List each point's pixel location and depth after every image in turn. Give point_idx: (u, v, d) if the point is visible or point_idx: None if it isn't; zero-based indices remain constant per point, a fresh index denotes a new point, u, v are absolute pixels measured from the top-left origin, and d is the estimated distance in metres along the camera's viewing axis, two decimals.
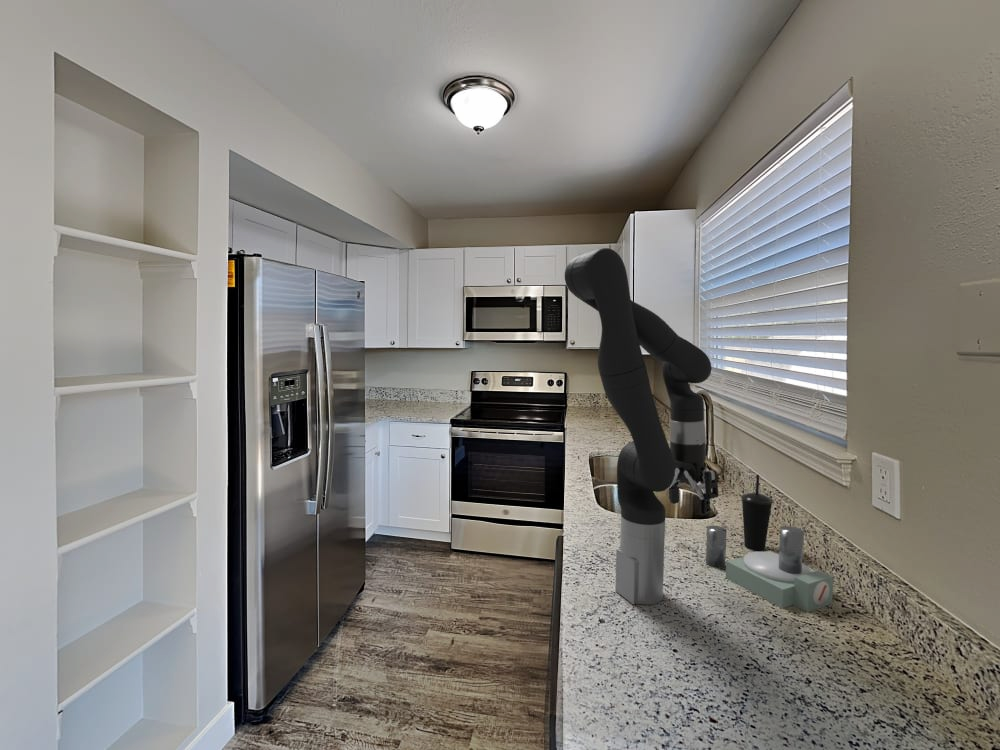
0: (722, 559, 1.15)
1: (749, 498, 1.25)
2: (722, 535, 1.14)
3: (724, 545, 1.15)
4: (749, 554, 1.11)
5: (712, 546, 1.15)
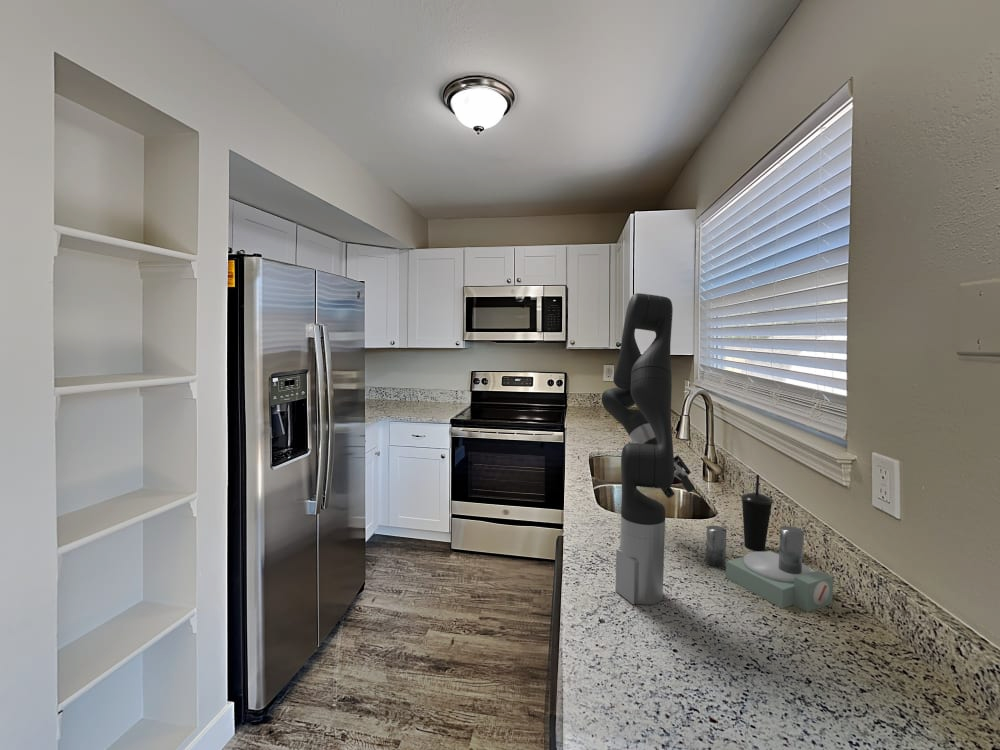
0: (722, 559, 1.15)
1: (749, 498, 1.25)
2: (722, 535, 1.14)
3: (724, 545, 1.15)
4: (749, 554, 1.11)
5: (712, 546, 1.15)
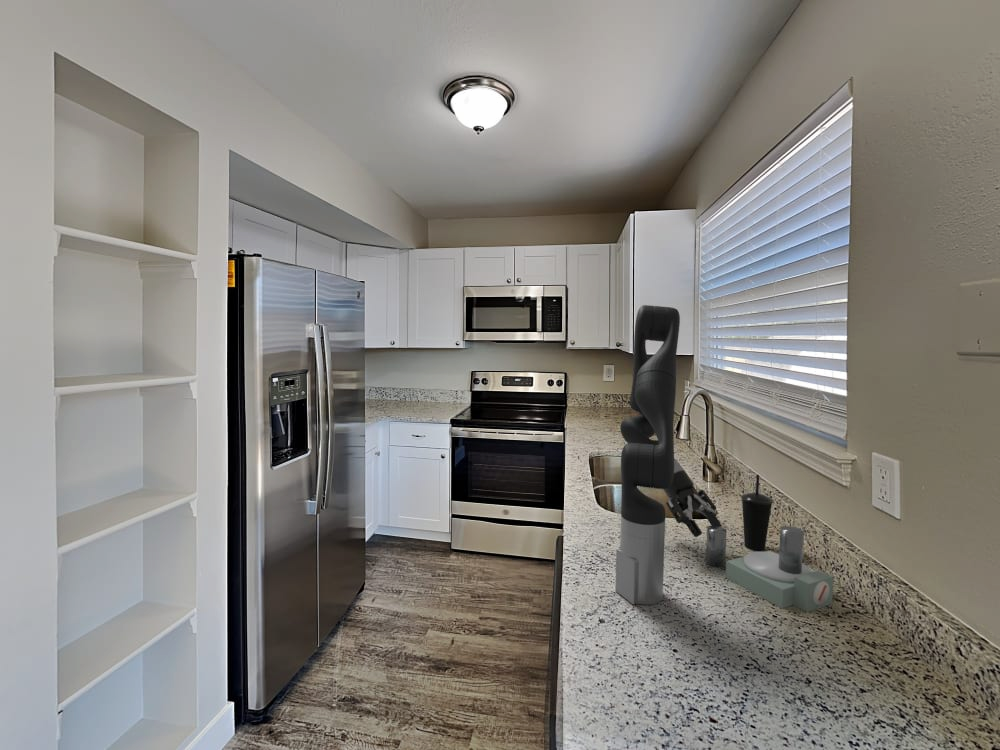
0: (722, 559, 1.15)
1: (749, 498, 1.25)
2: (722, 535, 1.14)
3: (724, 545, 1.15)
4: (749, 554, 1.11)
5: (712, 546, 1.15)
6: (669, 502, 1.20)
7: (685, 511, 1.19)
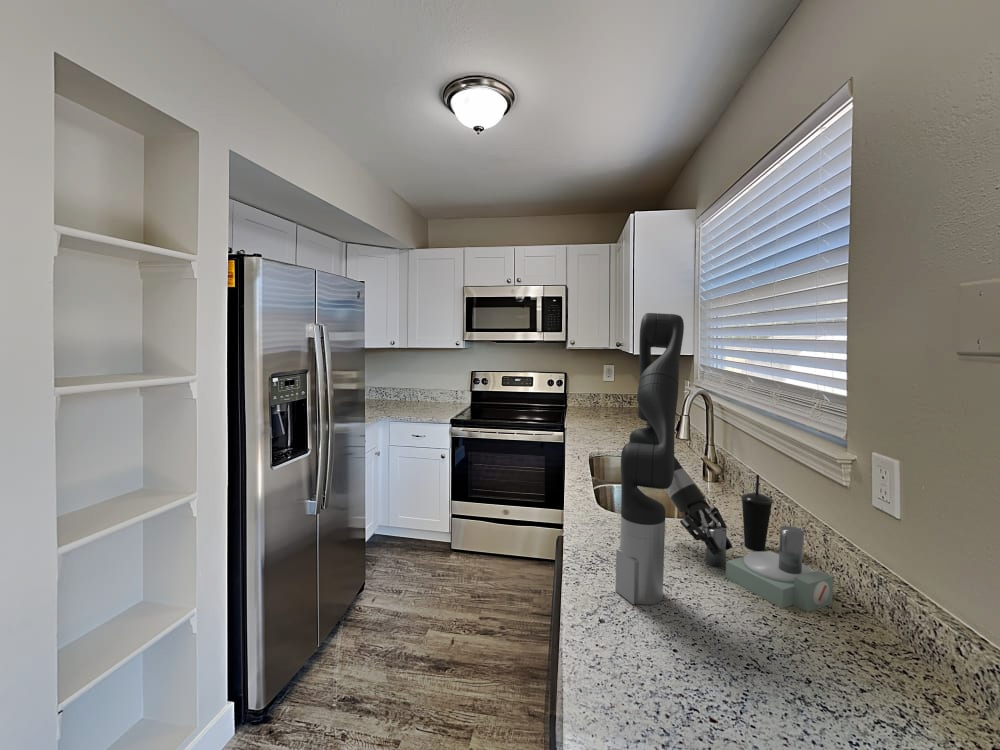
0: (722, 559, 1.15)
1: (749, 498, 1.25)
2: (723, 535, 1.14)
3: (724, 545, 1.15)
4: (749, 554, 1.11)
5: None
6: (684, 521, 1.16)
7: (701, 528, 1.17)
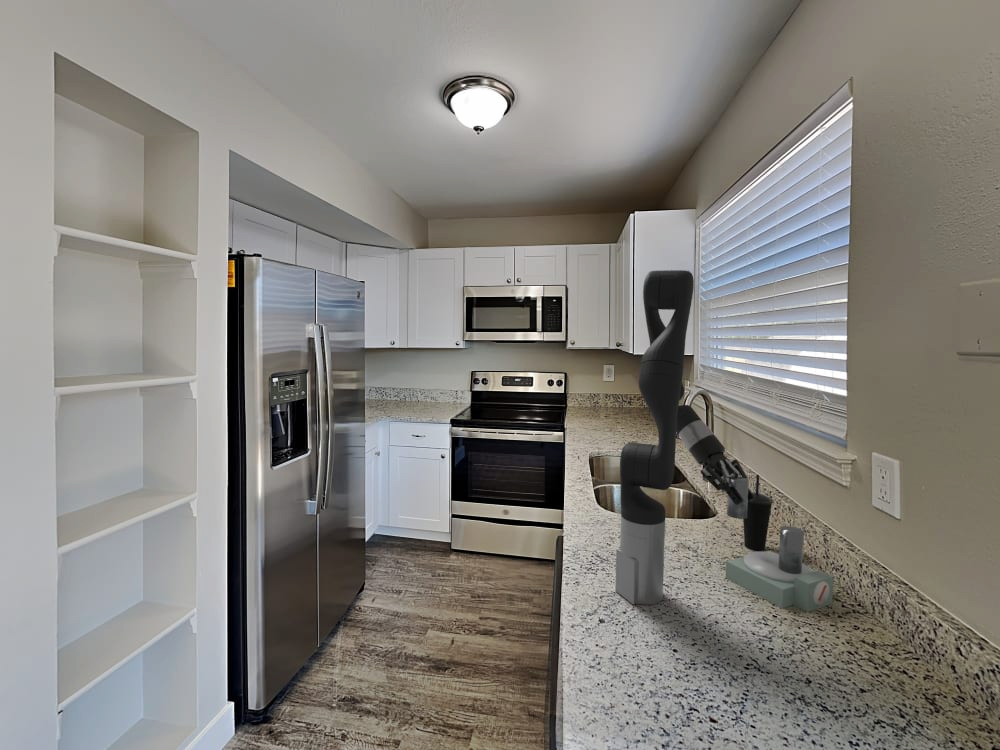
0: (745, 509, 1.11)
1: None
2: (745, 484, 1.10)
3: (746, 495, 1.11)
4: (749, 554, 1.11)
5: None
6: (704, 471, 1.12)
7: (722, 478, 1.12)
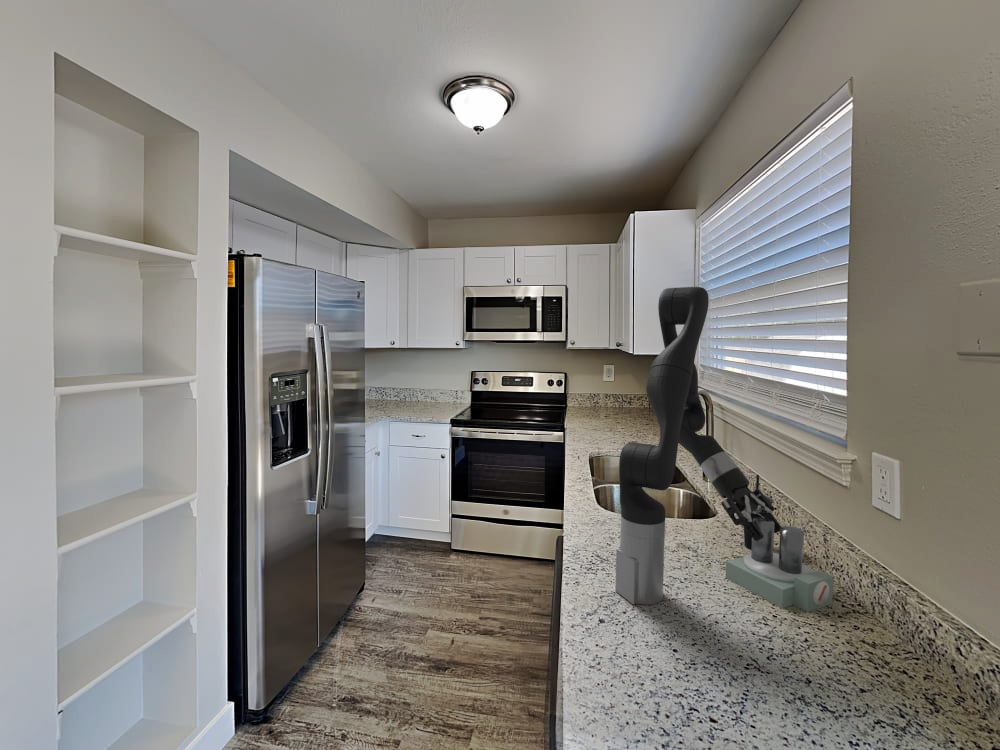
0: (770, 553, 1.07)
1: None
2: (771, 527, 1.06)
3: (772, 538, 1.07)
4: (749, 554, 1.11)
5: (759, 540, 1.07)
6: (725, 502, 1.09)
7: (743, 512, 1.08)
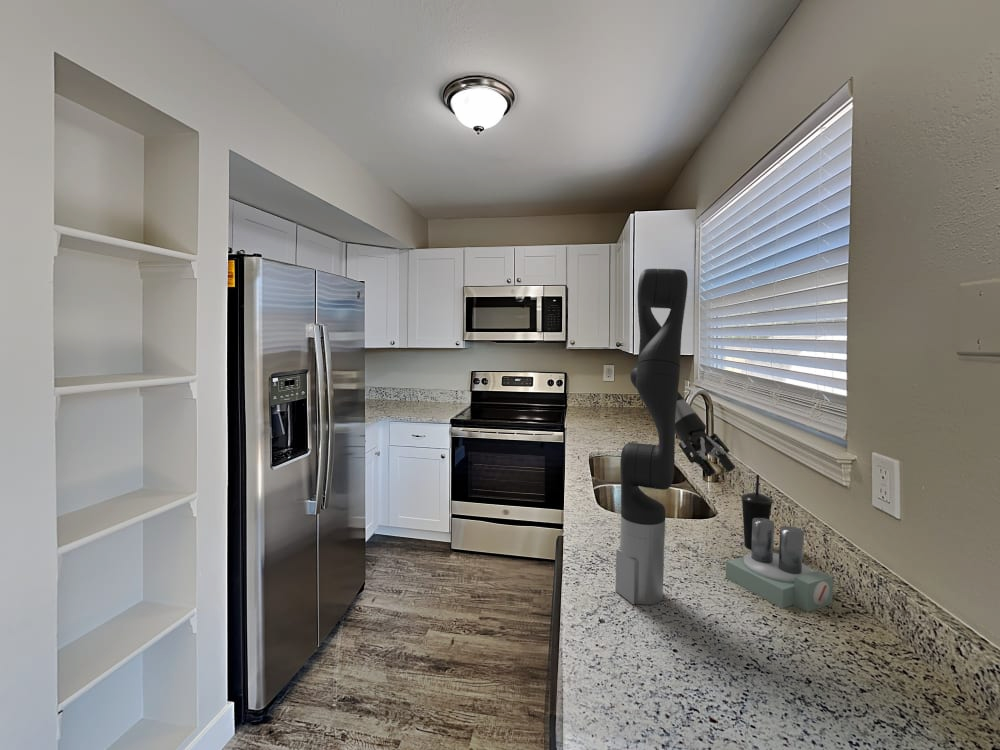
0: (770, 553, 1.07)
1: (749, 498, 1.25)
2: (770, 527, 1.06)
3: (772, 538, 1.07)
4: (749, 554, 1.11)
5: (759, 540, 1.07)
6: (682, 443, 1.18)
7: (698, 451, 1.17)
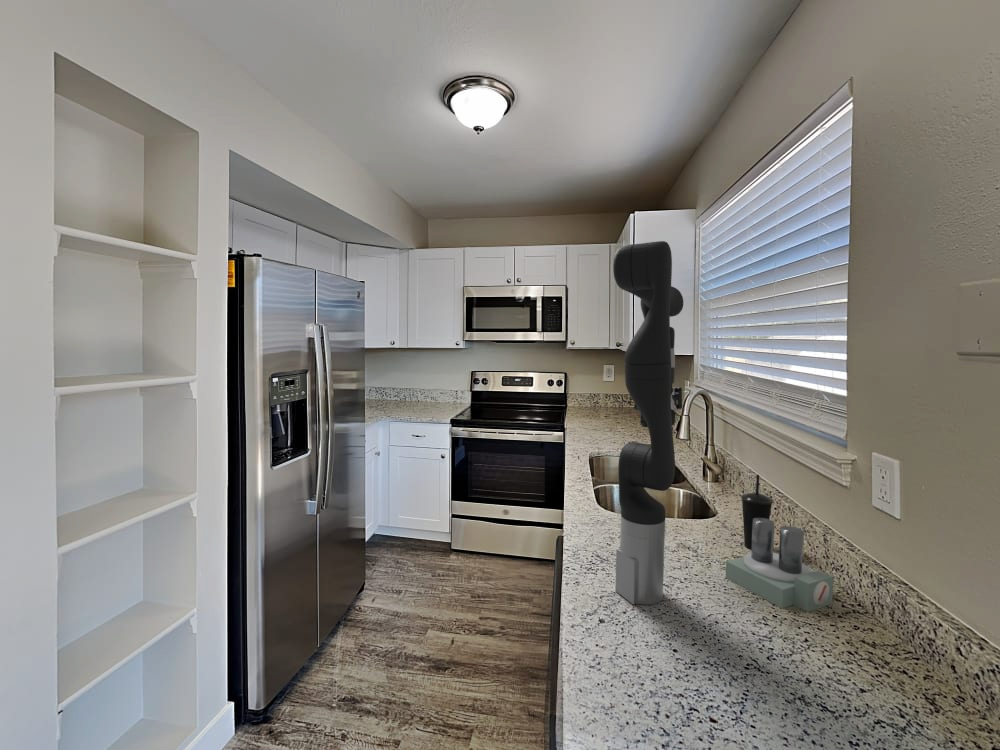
0: (770, 553, 1.07)
1: (749, 498, 1.25)
2: (771, 527, 1.06)
3: (772, 538, 1.07)
4: (749, 554, 1.11)
5: (759, 540, 1.07)
6: None
7: None
